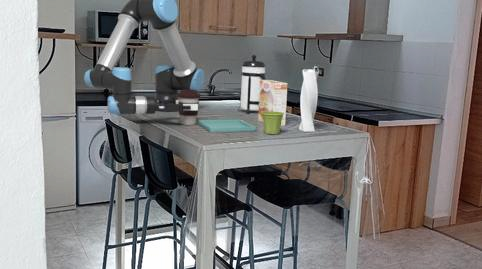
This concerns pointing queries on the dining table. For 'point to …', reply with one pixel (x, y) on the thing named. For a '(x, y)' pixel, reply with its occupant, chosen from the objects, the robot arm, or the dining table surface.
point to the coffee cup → (188, 98)
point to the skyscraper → (308, 100)
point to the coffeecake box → (272, 98)
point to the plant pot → (272, 121)
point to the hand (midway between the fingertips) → (193, 104)
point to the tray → (226, 126)
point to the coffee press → (251, 84)
